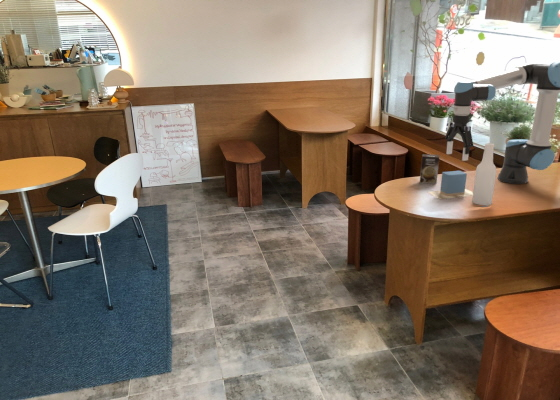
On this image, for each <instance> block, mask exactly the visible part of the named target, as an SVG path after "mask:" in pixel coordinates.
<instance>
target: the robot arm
mask: <svg viewBox="0 0 560 400" xmlns="http://www.w3.org/2000/svg"><path fill="white" fill-rule="evenodd" d="M527 84H529V85H531V84H532V85H536V88H535V90H536V91H537V92H538V95H537V102H536V105H535V110H534V111H535V112H534V117H533V122H532V127H531V133H530V138H529V139H522V138H521V139H520V138H519V139H517V138H516V139H509V140H508V141H506V145H505V149H504V158H503V163H502V164H503V165H502V167H501V169H500V171H499V173H498V177H497V179H498V181H500V182H503V183H505V184H506V183H507V184H514V185H515V184H516V185H520V184H522V185H524V184H526V183H528V181H529V176H528V170H527V168H530V169H532V170H536V171H544V170H546V169H548V168H549V167H550V166H551V165H552V164H553V162H554V160H555V152H554V151H553V150H552V143H551V142H550V137H551V132H552V127H553V122H554V119H555V118H554V117H555V115H556V114H555V112H556V107H557V102H558V98H559V94H560V61H559V60H557V61H554V60H553V61H552V60H537V61H532V62H529V63H525V64H522V65H518V66H516V67H514V69H511V70H507V71H504V72H499V73H496V74H492V75H489V76H485V77H482V78H477V79H475V80H471V81H469V80H468V81H467V80H465V81H464V80H460V81H458V82H457V83H456V84H455V86H454V90H453V92H454V103H453V115H452V122H450V123H449V127H448V129H447V132H446V134H445V137H444V139H445V140H446V155H452V154H453V145H454V139H455V137H456V136H457V134H458V135H459V136H460V137H461V139H462V143H463V150H462V158H461V161H463V162H464V161H469V156H470V151H471V150H470V148H472V147H474V142H473V135H472V127H471V126H470V125H469V126H467V124H469V122H470V115H471V110H472V109H471V107H472V102H487V101H491V100H494V98H495V97H496V92H497V90H500V89H504V88H507V87H510V86H514V85H518V86H522V85H527Z"/></svg>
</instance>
